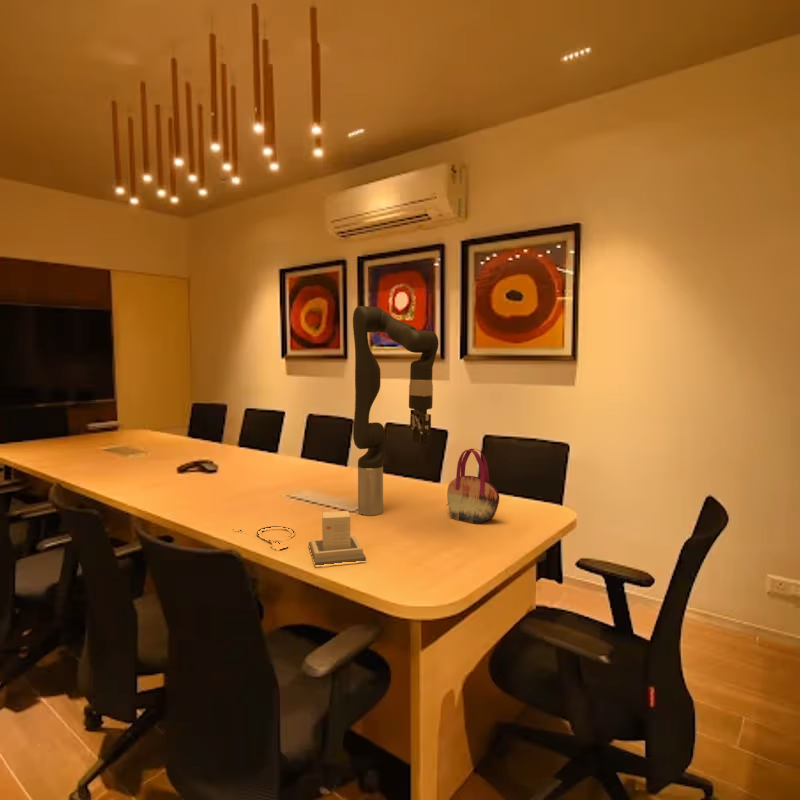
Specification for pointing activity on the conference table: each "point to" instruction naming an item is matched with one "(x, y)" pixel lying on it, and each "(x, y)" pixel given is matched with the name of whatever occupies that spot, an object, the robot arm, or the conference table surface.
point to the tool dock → (336, 553)
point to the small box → (336, 530)
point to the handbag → (472, 492)
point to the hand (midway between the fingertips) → (419, 444)
